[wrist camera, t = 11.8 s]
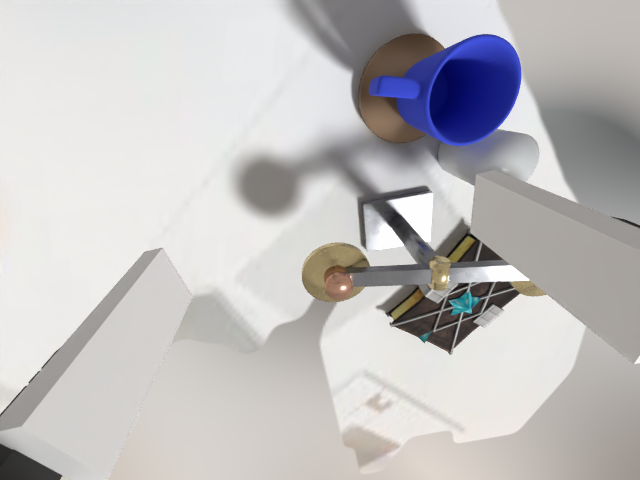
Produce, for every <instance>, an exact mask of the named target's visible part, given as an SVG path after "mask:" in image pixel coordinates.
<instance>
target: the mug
mask: <svg viewBox="0 0 640 480" xmlns="http://www.w3.org/2000/svg"><path fill="white" fill-rule="evenodd" d="M520 84H521V65H520V61H519V57H518V55H517V53H516V51H515V49H514V48H513V47H512V45H511V44H510V43H509V42H508V41H506V40H505V39H503V38H501V37H499V36H496V35H490V34H483V35H476V36H473V37H470V38H467V39H465V40H463V41H461V42H459V43H457V44H454V45H452V46H450V47H448V48H446V49H444V50H442V51H440V52H437V53H435V54H433V55H431V56H429V57H427V58H425V59H423V60H421V61H419V62H417V63H416V64H415V65H413V66H412V67H411V68H410V69H409V70H408V71H407V72H406V74H405V75H404V77H395V76H385V75H384V76H379V77H376V78H374V79H372V81H371V82H370V86H369V94H370V95H373V96H383V97H396V98H397V107H398V111H399V113H400V115H401V117H402V118H403V120H404V121H405V122H406V123H408V124H409V125H411V126H412V127H414V128H416V129H418V130H420V131H422V132H424V133H426V134H428V135H430V136H432V137H434V138H436V139H437V140H439V141H441V142H443V143H445V144H448V145H453V146H465V145H470V144H473V143H476V142H478V141H480V140H482V139H484V138H486V137H487V136H489V135H490V134H491V133H493V132H494V131H495V130H496V129H497V128H498V127H499V126H500V125H501V124H502V123H503V121H504V120H505V119H506V118H507V116H508V115H509V113H510V111H511V110H512V108H513V106H514V104H515V101H516V99H517V96H518V93H519V89H520Z"/></svg>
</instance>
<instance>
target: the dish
mask: <svg viewBox="0 0 640 480" xmlns="http://www.w3.org/2000/svg"><path fill="white" fill-rule="evenodd" d="M444 49H445V48H444V47H443V46H442V45H441V44H440V43H439V42H438V41H436V40H435V39H434V38H431V37H429V36H427V35H423V34H407V35H403V36H400V37H398V38H395V39H393V40H392V41H390V42H388V43H387V44H385V45H384V46H382V47H381V48H380V49H379V50H378V51H377V52H376V53H375V54H374V55H373V57H372V58H371V59H370V61H369V62H368V64H367V66H366V68H365V70H364V72H363V75H362V78H361V81H360V86H359V94H358V96H359V108H360V112H361V115H362V118H363V120H364V122H365V124H366V125H367V126H368V128H369V129H370V130H371V131H372V132H373V133H374V134H375V135H377V136H378V137H380V138H382V139H384V140H387V141H389V142H394V143H406V142H410V141H414V140H416V139H419V138H420V137H422V136H424V135H425V134H426V133H424V132H422V131H420V130H418V129H416V128H414V127H412V126H411V125H409V124H408V123H406V122H405V121H404V120H403V118H402V117H401V115H400V113H399V111H398V107H397V98H396V97H383V96H373V95H370V94H369V86H370V82H371V81H372V79H374V78H376V77H379V76H384V75H385V76H395V77H404V75H405V74H406V72H407V71H408V70H409V69H410V68H411V67H412V66H413V65H415V64H416V63H417V62H419V61H421V60H423V59H425V58H427V57H429V56H431V55H433V54H435V53H437V52H440V51H442V50H444Z"/></svg>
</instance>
